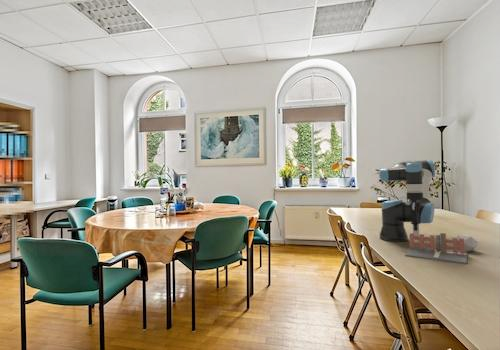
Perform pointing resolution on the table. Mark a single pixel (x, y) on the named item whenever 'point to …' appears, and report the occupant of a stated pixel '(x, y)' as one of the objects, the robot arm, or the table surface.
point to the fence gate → (422, 239)
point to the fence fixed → (453, 241)
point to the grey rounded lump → (468, 242)
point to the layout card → (437, 255)
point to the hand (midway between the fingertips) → (416, 236)
